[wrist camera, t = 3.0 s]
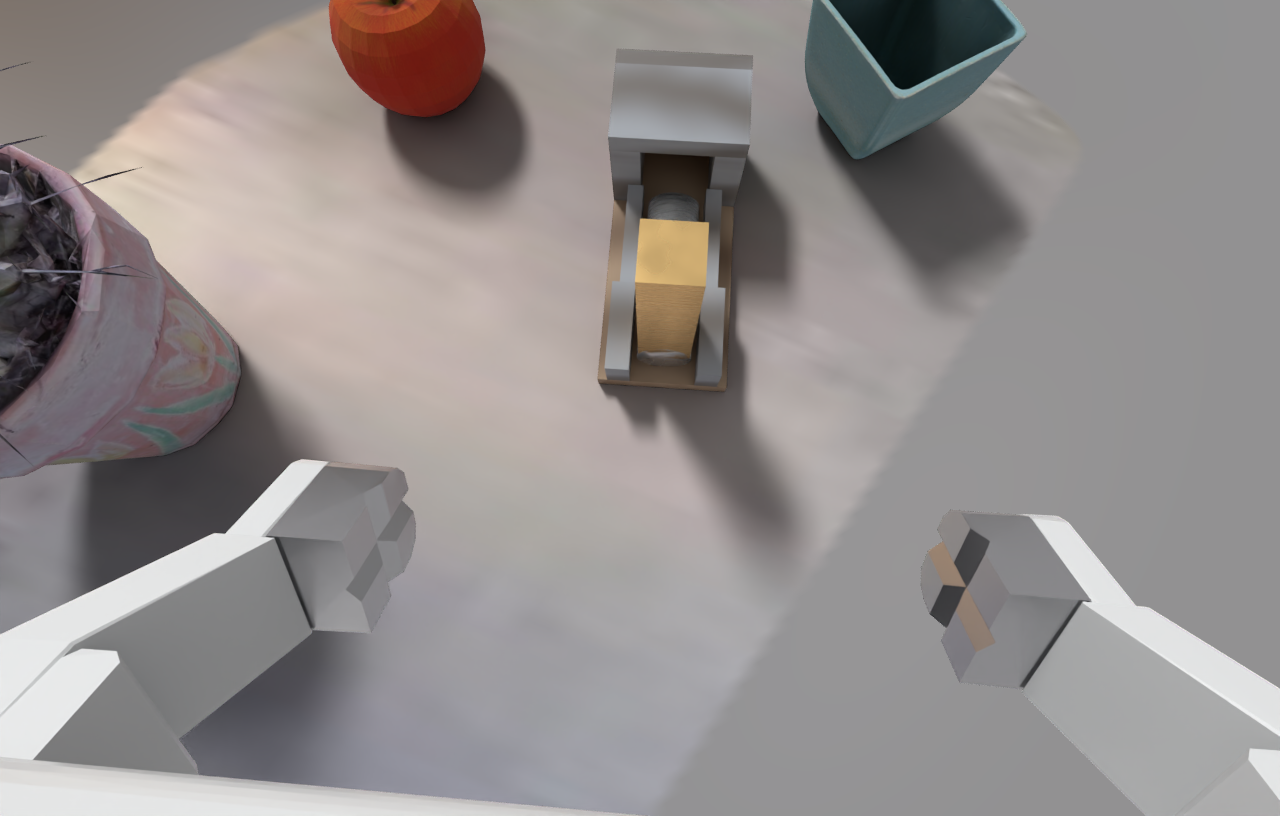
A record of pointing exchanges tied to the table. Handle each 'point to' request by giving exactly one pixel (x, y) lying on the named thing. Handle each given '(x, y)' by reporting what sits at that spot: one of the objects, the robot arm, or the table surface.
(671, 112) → the rail base
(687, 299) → the tall wooden block
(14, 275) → the potted plant
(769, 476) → the table surface
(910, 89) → the flower pot
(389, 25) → the fruit
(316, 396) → the table surface
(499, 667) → the table surface
